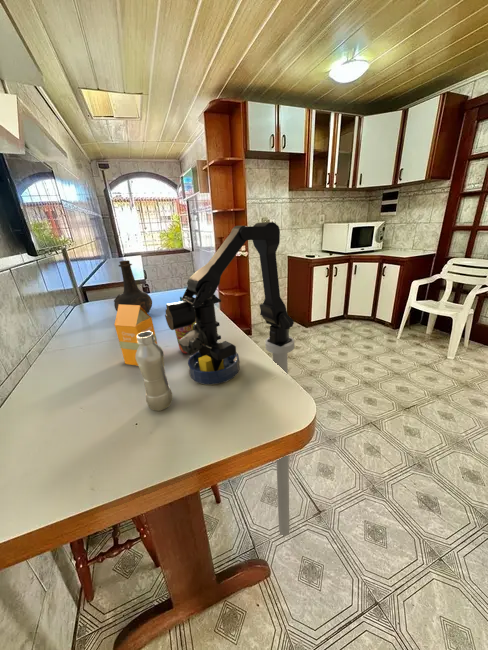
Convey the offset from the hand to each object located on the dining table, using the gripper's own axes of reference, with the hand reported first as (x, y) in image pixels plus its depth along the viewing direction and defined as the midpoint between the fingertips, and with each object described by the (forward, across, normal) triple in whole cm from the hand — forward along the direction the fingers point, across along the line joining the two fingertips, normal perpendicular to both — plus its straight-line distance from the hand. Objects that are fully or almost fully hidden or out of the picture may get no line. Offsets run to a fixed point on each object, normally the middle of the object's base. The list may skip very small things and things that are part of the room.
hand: (212, 368), depth 81 cm
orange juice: (+2, -25, -12) cm, 28 cm away
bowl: (+2, 0, +1) cm, 2 cm away
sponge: (+1, 0, 0) cm, 1 cm away
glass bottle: (+2, -75, +4) cm, 75 cm away
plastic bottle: (+2, +3, -18) cm, 18 cm away
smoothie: (+2, -19, +3) cm, 19 cm away
